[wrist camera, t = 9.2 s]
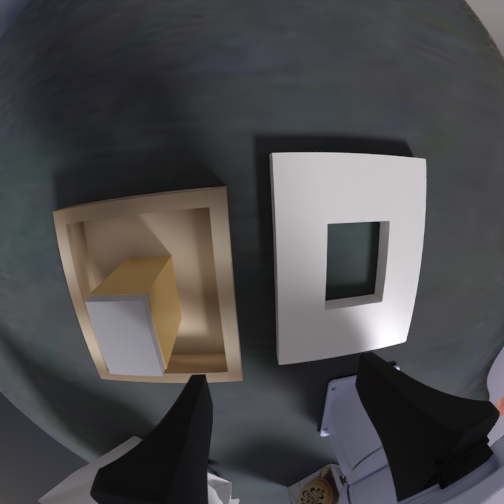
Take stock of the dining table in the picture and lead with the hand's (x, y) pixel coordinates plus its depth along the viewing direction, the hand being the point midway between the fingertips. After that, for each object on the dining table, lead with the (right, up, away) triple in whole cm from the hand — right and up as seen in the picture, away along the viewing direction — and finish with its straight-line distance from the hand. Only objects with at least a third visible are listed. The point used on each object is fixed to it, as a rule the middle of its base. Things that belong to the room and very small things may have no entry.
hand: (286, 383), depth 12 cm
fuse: (-9, +3, +8) cm, 12 cm away
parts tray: (-9, +3, +9) cm, 13 cm away
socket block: (+6, +5, +9) cm, 12 cm away
